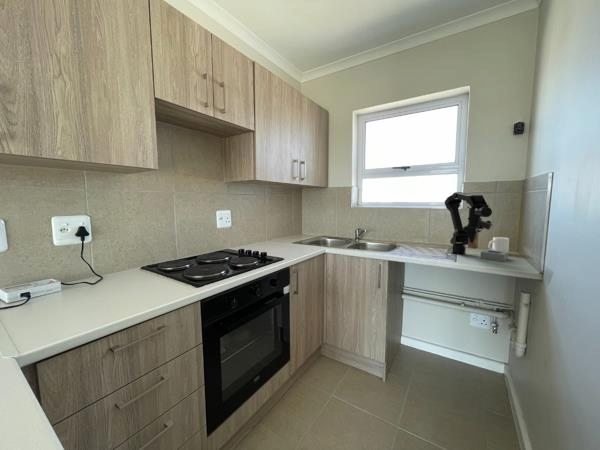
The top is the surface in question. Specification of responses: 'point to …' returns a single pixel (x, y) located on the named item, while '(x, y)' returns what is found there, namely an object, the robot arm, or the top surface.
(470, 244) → the walnut post
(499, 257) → the well block
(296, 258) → the top surface
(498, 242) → the mug
